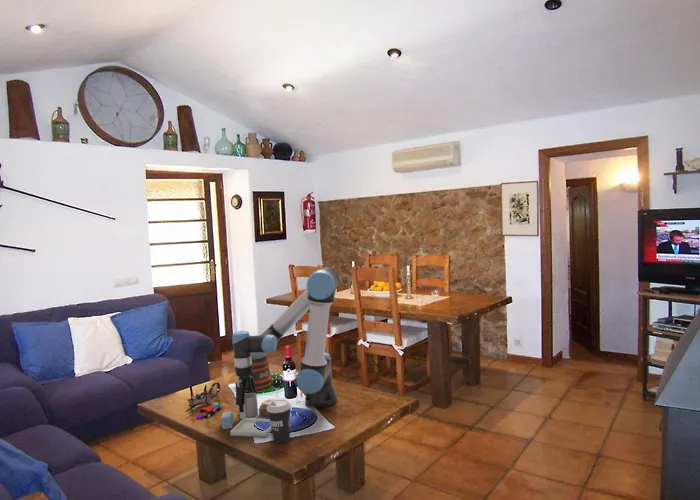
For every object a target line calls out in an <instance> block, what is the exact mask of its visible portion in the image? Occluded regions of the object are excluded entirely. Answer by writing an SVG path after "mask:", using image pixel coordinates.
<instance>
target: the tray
mask: <svg viewBox="0 0 700 500" xmlns="http://www.w3.org/2000/svg"><path fill="white" fill-rule="evenodd" d="M254 421H265V422H270V419H264V418H258V417H257V418H255V417H252V418H243V419H241V420H240V422H238V423H237V424H236V425H235V426H234V427H232V428H231V430H230V431H229V434H230V437H250V438H251V437H252V438H268V437H269V435H270V434H271V433H270V430H271V426H270V427H269V428H268V429H267V430H266V431H261V430H258V429H257V428H256V427H254ZM269 433H270V434H269Z"/></svg>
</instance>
